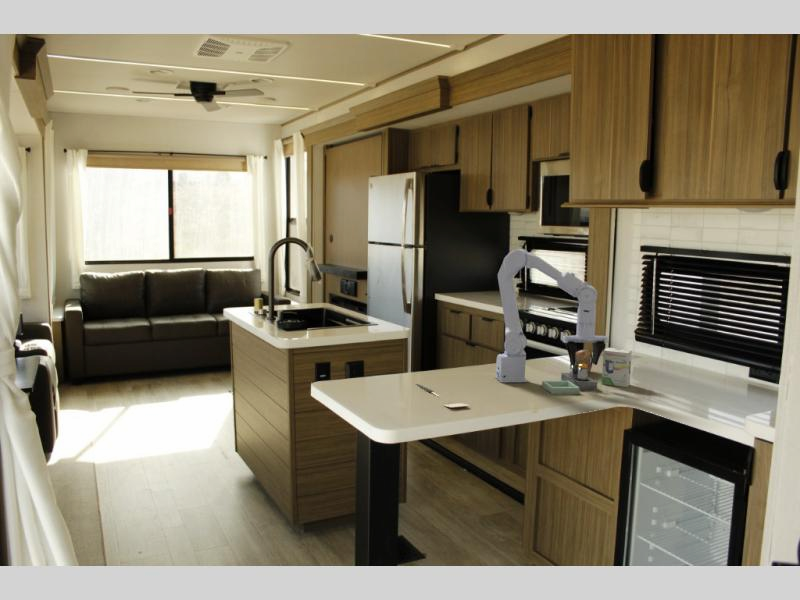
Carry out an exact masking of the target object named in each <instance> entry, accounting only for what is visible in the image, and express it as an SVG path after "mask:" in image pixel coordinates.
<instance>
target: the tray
mask: <svg viewBox="0 0 800 600" xmlns="http://www.w3.org/2000/svg"><path fill="white" fill-rule="evenodd" d="M541 381H542V382H541V387H542V389H544V390H546V391H547V392H548V393H549V394H551V395H580V391H581V390H580V388H579V387H578V386H576V385H574V384H573V383H571V382H570V381H562V380H541Z"/></svg>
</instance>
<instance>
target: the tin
mask: <svg viewBox="0 0 800 600" xmlns="http://www.w3.org/2000/svg"><path fill="white" fill-rule="evenodd" d="M592 359H593V351H592V350H590V349H581V350H578V351H576V354H575V362H577V364H578V367H579V364H588V374H589V373H590V372H591V370H592V368H593V362H592ZM569 369H570V370H569V371H570V372H569V373H571V364H570V363H569Z"/></svg>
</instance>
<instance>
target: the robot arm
mask: <svg viewBox="0 0 800 600" xmlns="http://www.w3.org/2000/svg"><path fill="white" fill-rule="evenodd" d="M524 267H525V269H534V270H538V271H539V272H541V273H542V274H544V275H546V276H547V277H550V278H551V279H553V280H554V281H556V284H557V287H558V288H560V289H561V290H563V291H564V292H566V293H568V294H569V295H571V296H572V297H573V298H577V300H578V308H577V316H576V318H577V320H576V334H575V335H573V334H572V335H562V343H564V346H565V349H566V351H567V354H568V357H569V365H570V364H572V365H575V354H576V352H577V349H578V345H577V344H576V343H591V344H592V357H593V359H592V365H594V366H595V365H596V366H598V362H599V359H600V358H601V357H600V356H601V354H603V353H602V352H603V351H604V349H606V344H607V343H608V339H609V338H608V336H606V335H596V334H595V332H596V316H597V315H596V314H597V309H596V307H597V300H598V299H597V298H598V291H597V289H596V288H595V287H594V286H593V285H592V284H589V282H588V281H583V280H582V279H580V278H578V277H577V276H576V273H574V272H569V271H565V272H561V271H560V270H558V269H557V268H556V267H555V266H553V265H551V264H550V263H548V262H547V261H545V260H544V259H542V258H541V257H540V256H538V255H536V254H535V253H533V252H530V251H529V252H528V250H527V249H525V248H516V249H513V250H511V251H509V252H508V254H507V255H505V257H504V258H503V261H502V264H501V266H500V268H499V271H498V273H497V281H498V286H499V287H498V289H499V293H500V298H501V299H500V301H501V304H502V305H501V306H502V311H503V312H502V313H503V319H504V324H505V330H504V331H505V333H504V335H505V341H504V344H503V345H504V346H503V347H504V353H502V354H501V353H499V354H497V356H496V360H495V361H496V362H495V363H496V364H495V376H494V378H496V379H497V380H498V381H499V382H501V383H530V382H529V379H527V378H525V377H526V363H527V360H526V359H527V353H526V351H525V348H526V347H527V344H528V339H527V337H526V336H525V334H524V332H523V327H522V325H521V321H520V315H519V309H518V302H517V295H516V289H515V283H514V278H515V276H516V275H517V274H518V273H519V272H520V270H521V269H523V268H524Z"/></svg>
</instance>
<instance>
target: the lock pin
mask: <svg viewBox="0 0 800 600" xmlns="http://www.w3.org/2000/svg"><path fill="white" fill-rule="evenodd" d="M588 374H589V373H588V364H579V368H578V381H587V376H588ZM588 377H589V376H588Z"/></svg>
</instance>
